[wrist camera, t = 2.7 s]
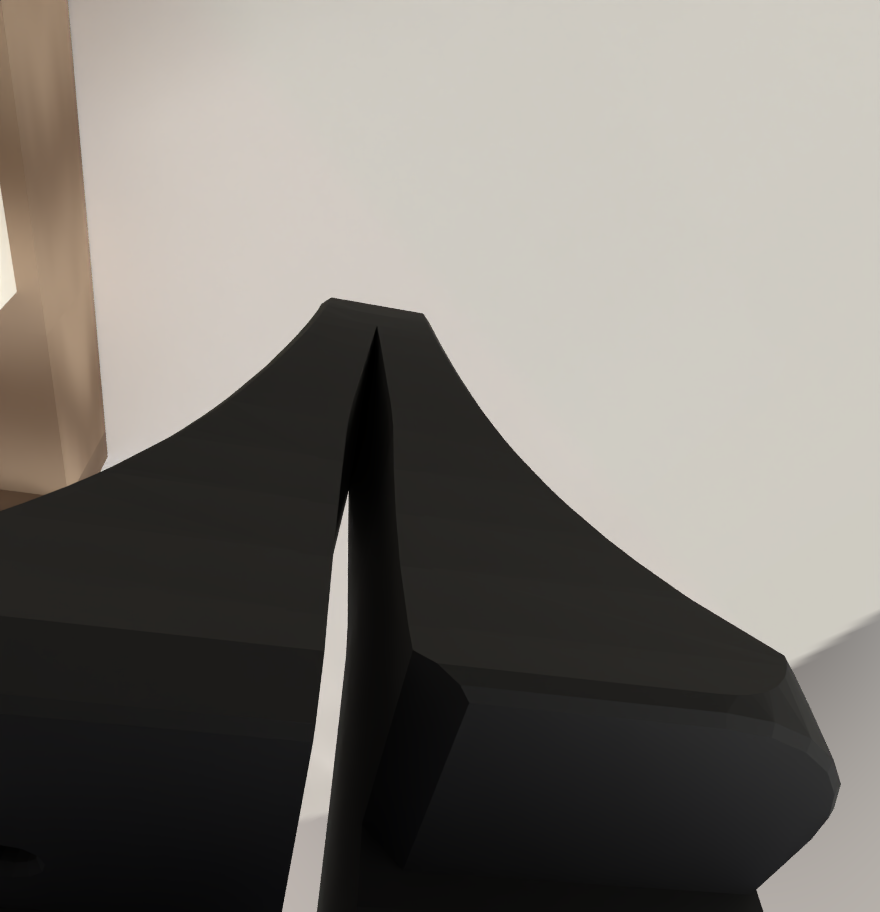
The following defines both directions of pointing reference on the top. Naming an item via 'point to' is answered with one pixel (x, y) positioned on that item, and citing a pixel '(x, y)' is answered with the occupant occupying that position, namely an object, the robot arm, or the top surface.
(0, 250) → the cream block
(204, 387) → the top surface
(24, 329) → the trap box
